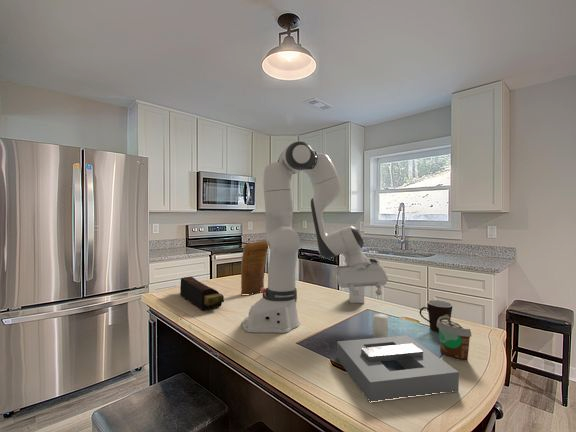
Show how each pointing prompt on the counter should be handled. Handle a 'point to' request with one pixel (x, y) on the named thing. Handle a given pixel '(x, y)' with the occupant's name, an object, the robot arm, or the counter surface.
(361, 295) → the milk carton
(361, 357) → the gray square frame block
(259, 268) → the pancake mix bag
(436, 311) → the coffee mug
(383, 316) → the tapered cream cylinder
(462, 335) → the food container
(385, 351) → the flat gray rectangular bar
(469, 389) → the counter surface
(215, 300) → the packaged item
